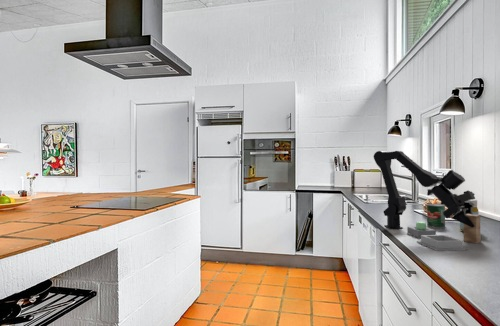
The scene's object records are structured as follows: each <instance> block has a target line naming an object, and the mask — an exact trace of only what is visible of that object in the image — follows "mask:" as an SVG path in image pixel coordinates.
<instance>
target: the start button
mask: <svg viewBox="0 0 500 326" xmlns="http://www.w3.org/2000/svg"><path fill="white" fill-rule="evenodd" d="M415 227H416V229H419V230H426V227H427V222H424V221H416V222H415Z"/></svg>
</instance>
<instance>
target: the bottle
mask: <svg viewBox="0 0 500 326" xmlns="http://www.w3.org/2000/svg"><path fill="white" fill-rule="evenodd" d="M465 202H472V203H473V204H474V205H475V206H473V209H472V213H473V214H476V215H479V208H478V200H477V199H471V200H468V201H465ZM459 230H460V231H461V232H463V233H464V226H463V223H461V222H459Z"/></svg>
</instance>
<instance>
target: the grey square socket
mask: <svg viewBox="0 0 500 326" xmlns="http://www.w3.org/2000/svg"><path fill="white" fill-rule="evenodd" d="M417 242H418V244H420V245H423V246H425V247H426V248H429V249H432V250H434V251H436V252H441V251H442V252H444V251H468V248H467V247H465V246H463V245H464V244H463V242H464V240H461V239H457V238H455V237H452V236H449V235H447V234H436V235H421V238H420V240H416V243H417Z"/></svg>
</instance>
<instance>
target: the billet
mask: <svg viewBox="0 0 500 326" xmlns="http://www.w3.org/2000/svg"><path fill="white" fill-rule="evenodd" d="M466 215H467V217H468V218H469V219H470V220H471V221H472V223H473V224H474V225H475V226H474V227H473V228H472V227H470V226H468V225H466V224H463V226H464V232H463V242H466V243H471V244H478V243H481V240H482V238H481V214H478V215H476V214H466Z"/></svg>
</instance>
